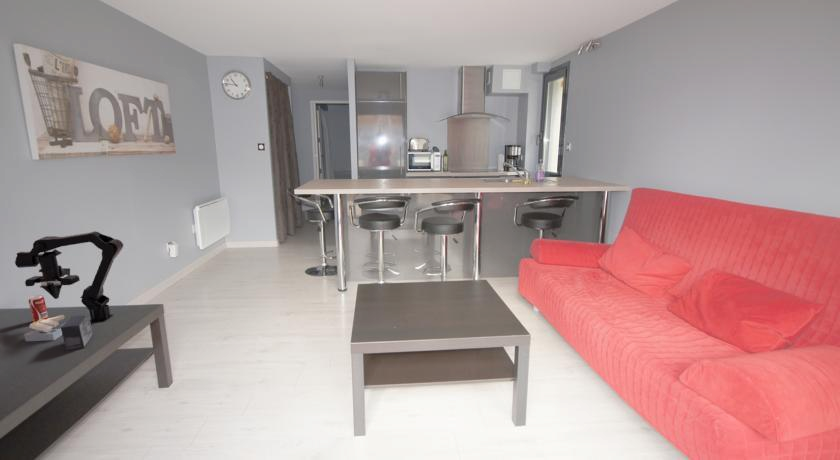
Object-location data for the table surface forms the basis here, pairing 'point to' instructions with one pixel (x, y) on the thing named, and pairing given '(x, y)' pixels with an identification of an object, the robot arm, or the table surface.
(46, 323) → the rocker
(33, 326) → the rocker
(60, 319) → the rocker
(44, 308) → the soda can
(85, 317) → the small box
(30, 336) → the switch unit
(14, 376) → the table surface
